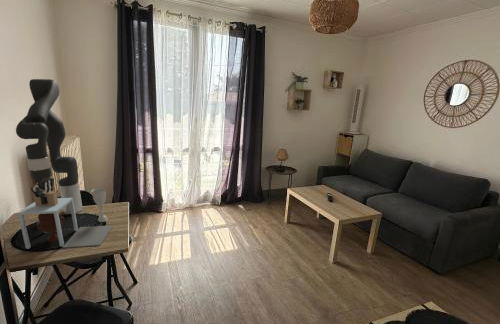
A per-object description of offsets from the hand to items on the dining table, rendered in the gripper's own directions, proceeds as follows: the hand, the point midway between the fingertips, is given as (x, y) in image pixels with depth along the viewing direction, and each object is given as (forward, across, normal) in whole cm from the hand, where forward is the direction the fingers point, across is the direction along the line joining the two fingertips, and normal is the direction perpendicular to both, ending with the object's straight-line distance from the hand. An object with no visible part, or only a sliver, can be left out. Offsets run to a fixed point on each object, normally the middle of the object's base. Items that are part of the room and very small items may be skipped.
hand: (46, 202), depth 118 cm
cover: (+19, 0, 0) cm, 19 cm away
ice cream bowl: (+19, 0, 0) cm, 19 cm away
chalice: (+19, -17, +16) cm, 30 cm away
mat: (+19, 0, +16) cm, 25 cm away
